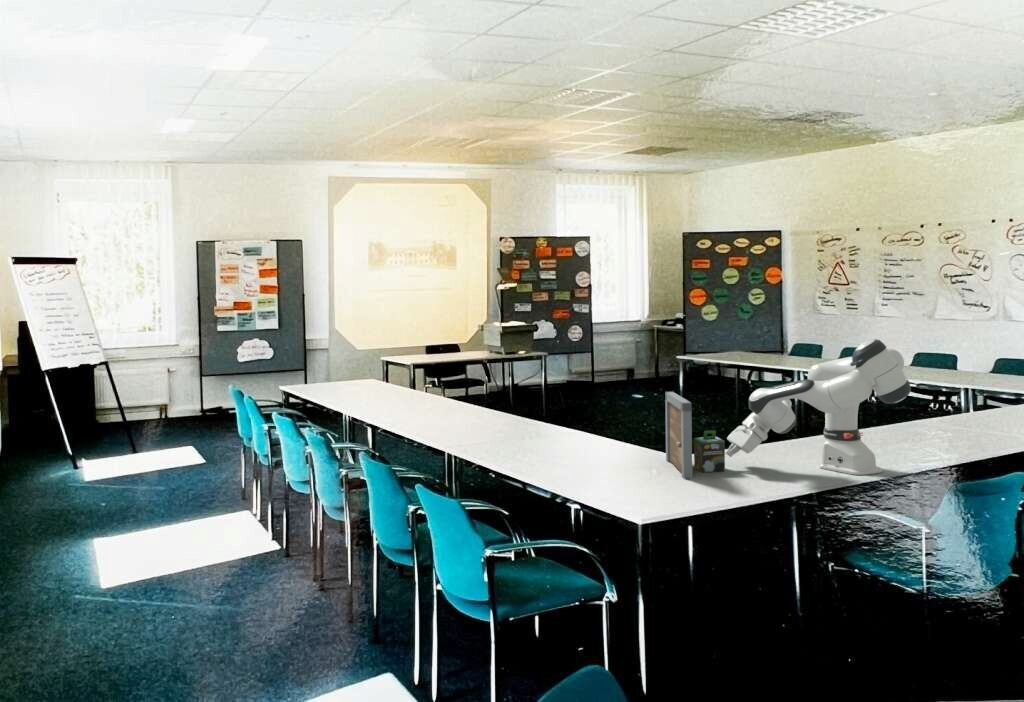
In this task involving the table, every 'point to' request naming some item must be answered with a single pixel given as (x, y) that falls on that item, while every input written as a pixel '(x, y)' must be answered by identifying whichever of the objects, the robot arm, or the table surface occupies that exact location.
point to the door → (675, 437)
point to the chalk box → (709, 453)
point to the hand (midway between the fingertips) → (727, 455)
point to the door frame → (685, 430)
